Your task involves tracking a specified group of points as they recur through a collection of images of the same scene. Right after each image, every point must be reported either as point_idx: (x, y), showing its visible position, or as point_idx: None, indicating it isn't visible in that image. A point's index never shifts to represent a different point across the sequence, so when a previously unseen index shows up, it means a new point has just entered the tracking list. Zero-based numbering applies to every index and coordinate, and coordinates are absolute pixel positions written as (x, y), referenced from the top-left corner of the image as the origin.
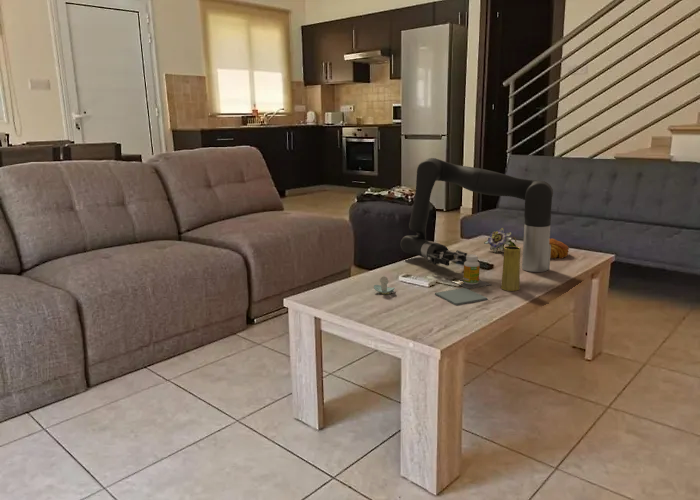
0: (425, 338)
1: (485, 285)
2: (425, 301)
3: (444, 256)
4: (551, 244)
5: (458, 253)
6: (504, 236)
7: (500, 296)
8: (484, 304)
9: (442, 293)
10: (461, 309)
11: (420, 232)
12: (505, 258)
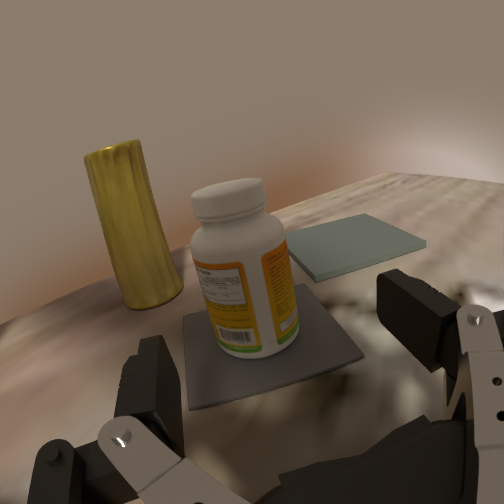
0: (406, 176)
1: None
2: (439, 222)
3: (439, 421)
4: None
5: (145, 486)
6: None
7: None
8: (295, 226)
9: (401, 239)
10: (354, 211)
11: None
12: (147, 176)
